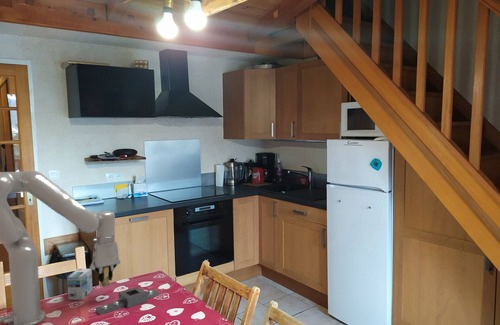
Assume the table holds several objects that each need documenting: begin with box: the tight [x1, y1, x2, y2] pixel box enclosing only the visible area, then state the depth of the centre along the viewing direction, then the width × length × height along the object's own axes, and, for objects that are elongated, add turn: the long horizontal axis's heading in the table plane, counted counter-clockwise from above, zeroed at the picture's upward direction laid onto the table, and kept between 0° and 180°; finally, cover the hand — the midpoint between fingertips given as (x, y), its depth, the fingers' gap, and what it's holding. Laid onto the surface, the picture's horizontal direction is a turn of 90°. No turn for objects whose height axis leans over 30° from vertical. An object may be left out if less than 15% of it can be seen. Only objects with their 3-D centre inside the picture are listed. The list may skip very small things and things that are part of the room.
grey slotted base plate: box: [95, 286, 160, 316], centre depth 163 cm, size 27×9×4 cm, turn 133°
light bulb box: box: [66, 268, 93, 301], centre depth 172 cm, size 11×7×11 cm, turn 179°
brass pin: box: [100, 266, 110, 288], centre depth 165 cm, size 3×3×10 cm
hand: (105, 280), depth 165 cm, fingers closed on brass pin, 3 cm apart
